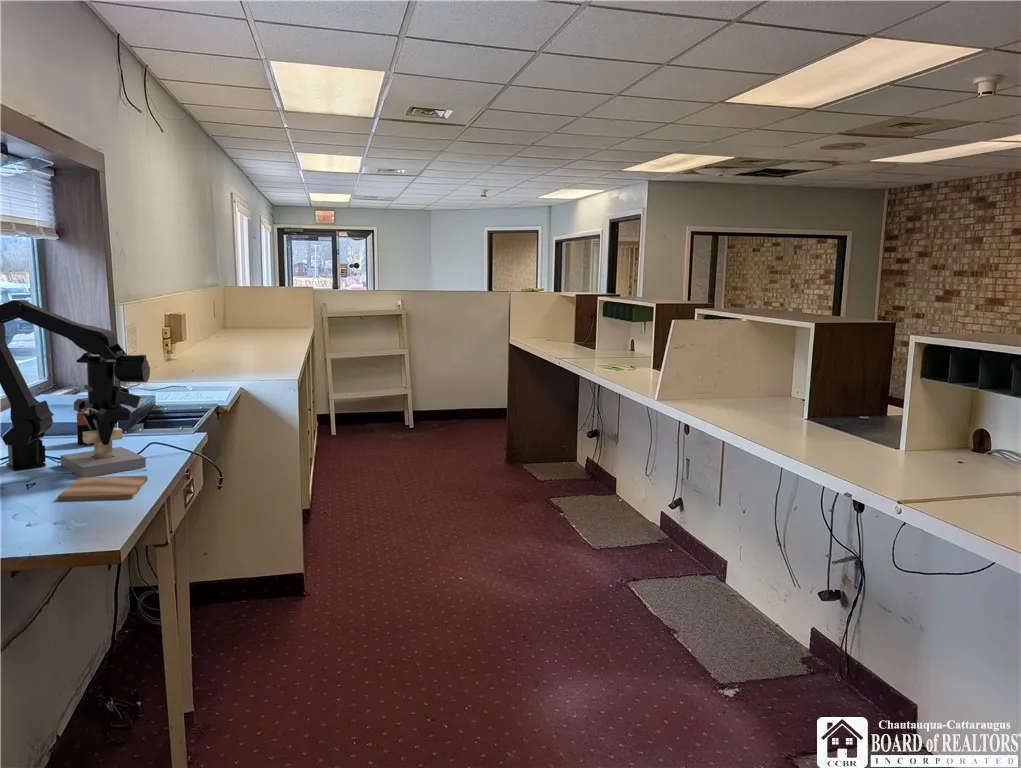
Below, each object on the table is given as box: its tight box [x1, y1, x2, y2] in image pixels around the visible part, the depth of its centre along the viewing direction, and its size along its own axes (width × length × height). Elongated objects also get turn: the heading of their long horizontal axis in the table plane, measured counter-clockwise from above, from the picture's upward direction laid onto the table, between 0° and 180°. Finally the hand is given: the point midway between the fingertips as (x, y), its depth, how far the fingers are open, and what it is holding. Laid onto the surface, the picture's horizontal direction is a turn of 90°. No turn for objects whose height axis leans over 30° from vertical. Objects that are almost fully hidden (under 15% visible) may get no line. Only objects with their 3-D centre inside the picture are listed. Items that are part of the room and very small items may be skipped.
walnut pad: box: [57, 475, 149, 502], centre depth 149 cm, size 14×14×1 cm
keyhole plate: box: [59, 446, 147, 477], centre depth 166 cm, size 14×14×2 cm
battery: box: [76, 409, 94, 446], centre depth 186 cm, size 4×7×10 cm, turn 115°
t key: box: [83, 427, 123, 460], centre depth 166 cm, size 8×3×8 cm, turn 142°
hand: (103, 443), depth 166 cm, fingers closed on t key, 3 cm apart
